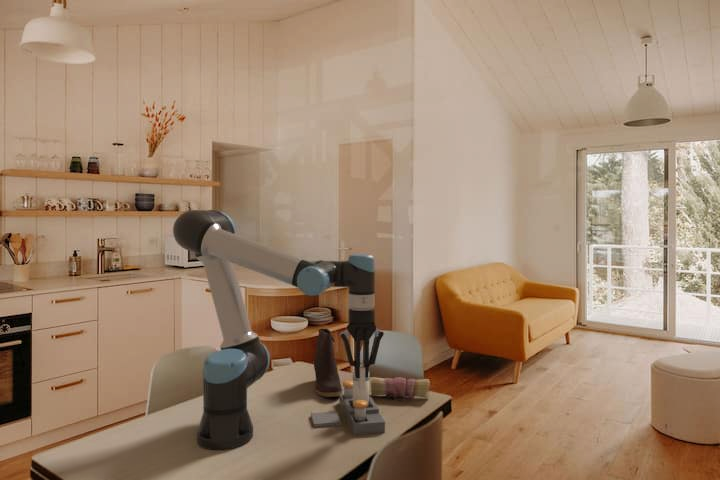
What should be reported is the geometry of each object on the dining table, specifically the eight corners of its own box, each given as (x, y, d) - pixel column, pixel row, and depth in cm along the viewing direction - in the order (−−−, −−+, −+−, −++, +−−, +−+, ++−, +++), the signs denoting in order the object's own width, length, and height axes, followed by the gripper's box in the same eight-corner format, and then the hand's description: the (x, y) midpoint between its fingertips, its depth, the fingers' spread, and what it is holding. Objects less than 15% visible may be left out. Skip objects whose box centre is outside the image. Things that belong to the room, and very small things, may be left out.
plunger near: (354, 422, 142) (354, 405, 142) (351, 416, 146) (351, 400, 146) (368, 421, 143) (369, 404, 143) (365, 415, 147) (365, 399, 147)
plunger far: (343, 400, 159) (344, 385, 159) (341, 395, 163) (341, 381, 163) (356, 399, 160) (356, 384, 160) (354, 394, 164) (354, 380, 164)
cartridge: (354, 420, 151) (354, 372, 150) (350, 413, 156) (351, 366, 155) (370, 419, 152) (371, 371, 151) (366, 412, 157) (367, 365, 156)
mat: (314, 427, 146) (314, 423, 146) (311, 416, 153) (311, 413, 153) (341, 425, 147) (341, 421, 147) (336, 414, 155) (336, 411, 155)
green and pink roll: (429, 389, 174) (372, 386, 177) (429, 373, 170) (371, 370, 173) (429, 406, 167) (370, 402, 170) (429, 389, 164) (369, 386, 167)
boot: (321, 402, 165) (321, 342, 164) (307, 379, 188) (307, 326, 187) (346, 400, 167) (347, 341, 166) (330, 377, 190) (330, 325, 189)
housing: (354, 434, 141) (354, 420, 141) (339, 403, 164) (339, 391, 164) (384, 432, 143) (385, 418, 143) (366, 401, 166) (366, 389, 166)
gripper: (341, 311, 138) (341, 395, 139) (386, 309, 141) (386, 391, 142) (337, 306, 145) (337, 386, 147) (380, 304, 148) (380, 382, 149)
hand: (361, 388), depth 144 cm, fingers closed
